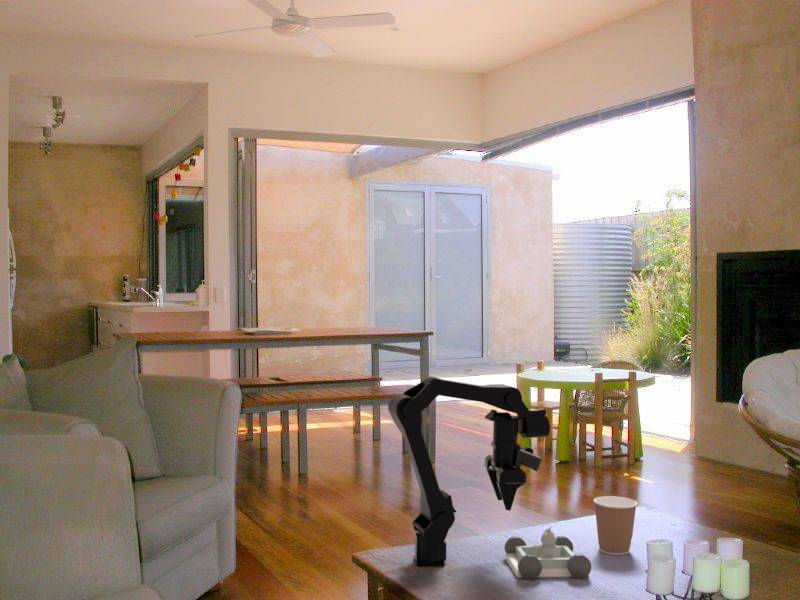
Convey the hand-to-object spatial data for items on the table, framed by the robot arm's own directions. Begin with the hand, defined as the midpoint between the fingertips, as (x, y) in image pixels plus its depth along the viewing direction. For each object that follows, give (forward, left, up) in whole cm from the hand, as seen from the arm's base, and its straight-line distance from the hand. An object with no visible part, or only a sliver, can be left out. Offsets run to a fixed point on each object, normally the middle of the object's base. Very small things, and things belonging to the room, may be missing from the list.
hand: (504, 504), depth 201 cm
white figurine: (+8, -9, -11) cm, 16 cm away
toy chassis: (+8, -9, -12) cm, 17 cm away
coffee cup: (+28, +3, -12) cm, 31 cm away
